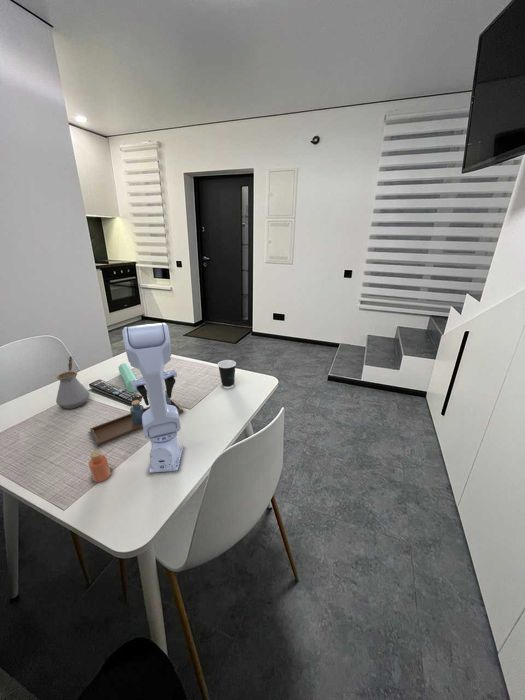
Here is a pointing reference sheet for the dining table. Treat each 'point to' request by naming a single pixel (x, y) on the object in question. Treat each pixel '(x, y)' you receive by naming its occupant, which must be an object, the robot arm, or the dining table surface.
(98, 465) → the terracotta bottle
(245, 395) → the dining table surface
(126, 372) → the container
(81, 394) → the coffee pot
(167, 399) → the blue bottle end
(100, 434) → the tray
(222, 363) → the dixie cup
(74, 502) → the dining table surface
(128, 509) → the dining table surface
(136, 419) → the blue bottle middle
